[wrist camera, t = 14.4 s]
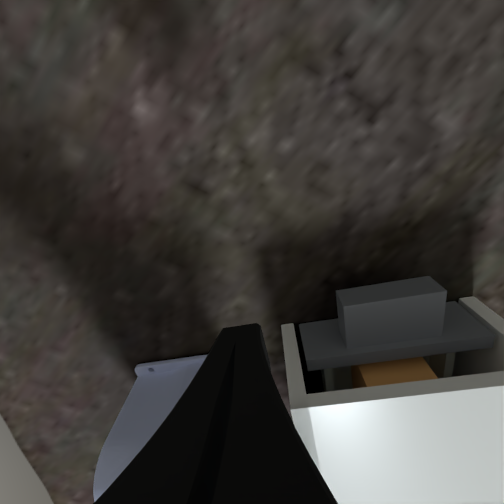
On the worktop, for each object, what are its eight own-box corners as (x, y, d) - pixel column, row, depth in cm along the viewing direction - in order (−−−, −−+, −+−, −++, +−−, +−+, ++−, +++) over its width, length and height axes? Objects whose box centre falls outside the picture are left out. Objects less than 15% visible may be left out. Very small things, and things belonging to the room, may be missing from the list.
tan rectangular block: (353, 395, 23) (374, 452, 19) (349, 344, 20) (371, 397, 16) (405, 389, 22) (438, 446, 18) (407, 336, 20) (445, 388, 16)
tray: (314, 417, 25) (323, 459, 22) (292, 286, 19) (299, 318, 16) (441, 403, 24) (470, 446, 20) (460, 259, 18) (506, 287, 14)
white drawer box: (301, 422, 26) (315, 517, 19) (280, 324, 21) (290, 409, 14) (455, 406, 24) (525, 503, 18) (473, 296, 19) (580, 376, 13)
